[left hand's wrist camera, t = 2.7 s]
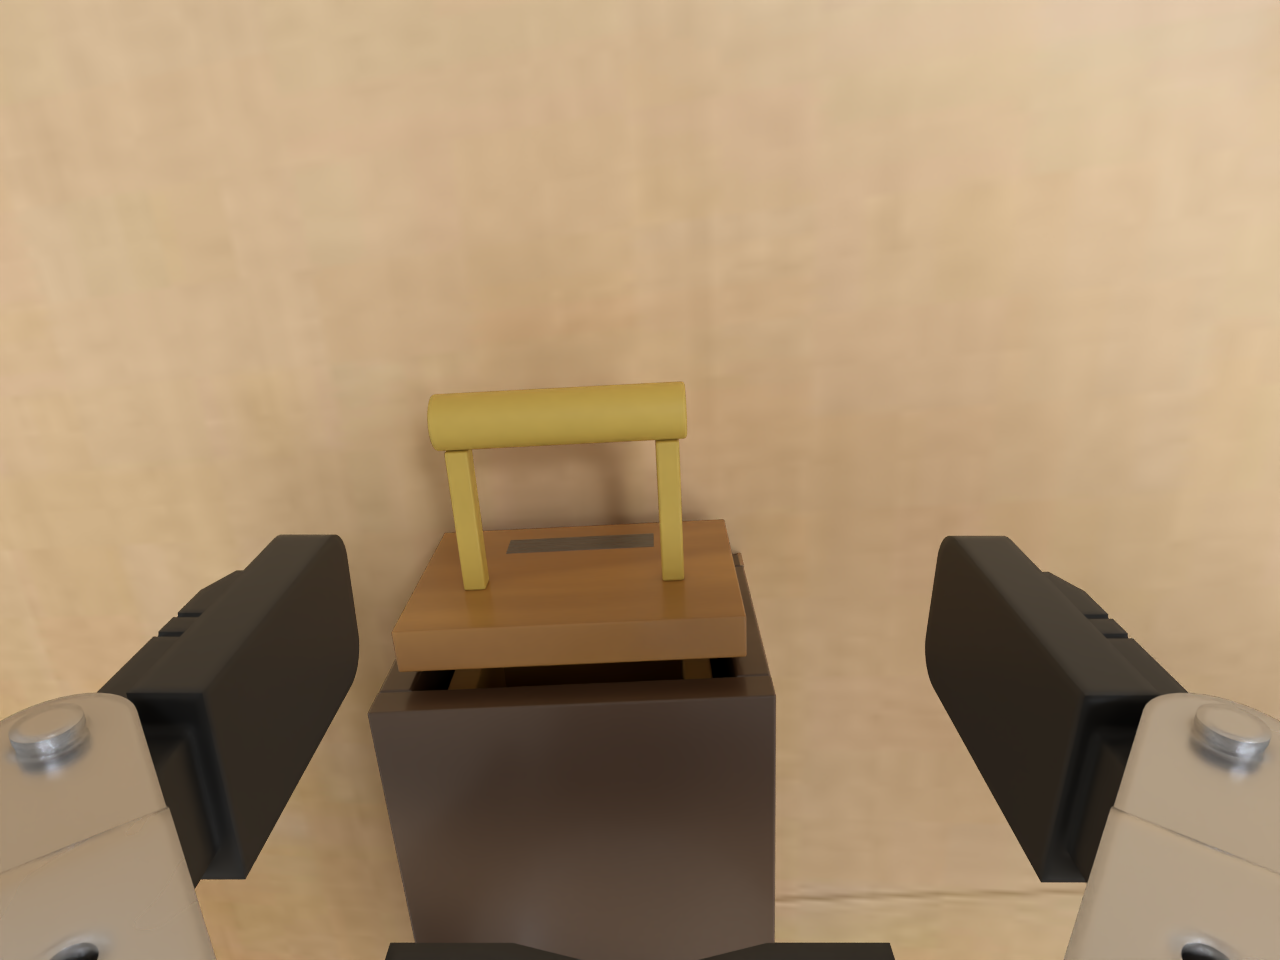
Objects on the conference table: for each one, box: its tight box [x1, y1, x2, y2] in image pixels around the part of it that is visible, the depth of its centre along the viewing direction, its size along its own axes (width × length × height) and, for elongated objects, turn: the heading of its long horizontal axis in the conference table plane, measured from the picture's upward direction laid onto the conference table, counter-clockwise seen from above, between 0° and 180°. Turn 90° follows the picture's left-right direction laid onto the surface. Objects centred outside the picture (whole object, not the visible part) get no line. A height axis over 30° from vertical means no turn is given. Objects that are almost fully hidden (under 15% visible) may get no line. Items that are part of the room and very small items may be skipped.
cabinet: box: [368, 553, 776, 960], centre depth 28 cm, size 20×10×8 cm, turn 3°
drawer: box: [392, 382, 747, 690], centre depth 26 cm, size 25×9×6 cm, turn 3°
